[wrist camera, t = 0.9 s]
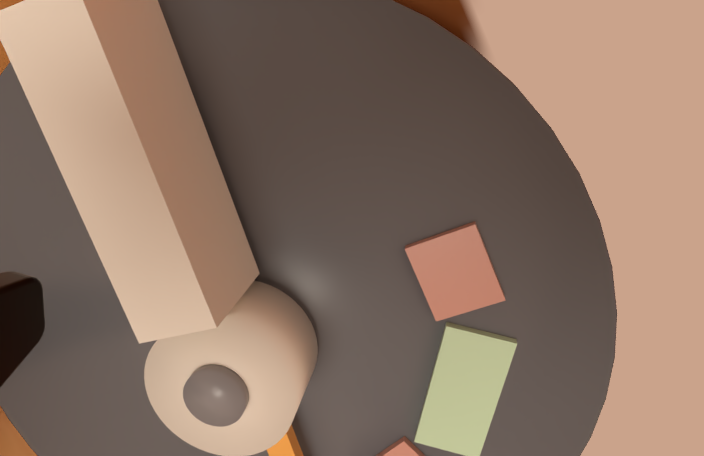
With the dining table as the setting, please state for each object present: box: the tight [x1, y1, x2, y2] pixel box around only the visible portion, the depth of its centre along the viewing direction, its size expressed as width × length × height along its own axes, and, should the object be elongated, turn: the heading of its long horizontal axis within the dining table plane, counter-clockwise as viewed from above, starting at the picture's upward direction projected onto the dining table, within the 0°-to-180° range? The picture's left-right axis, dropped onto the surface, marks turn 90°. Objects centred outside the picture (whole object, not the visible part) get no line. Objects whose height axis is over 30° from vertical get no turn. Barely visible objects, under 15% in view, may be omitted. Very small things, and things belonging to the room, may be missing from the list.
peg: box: [0, 0, 318, 456], centre depth 19 cm, size 22×5×4 cm, turn 17°
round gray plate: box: [0, 0, 617, 456], centre depth 22 cm, size 25×25×2 cm
